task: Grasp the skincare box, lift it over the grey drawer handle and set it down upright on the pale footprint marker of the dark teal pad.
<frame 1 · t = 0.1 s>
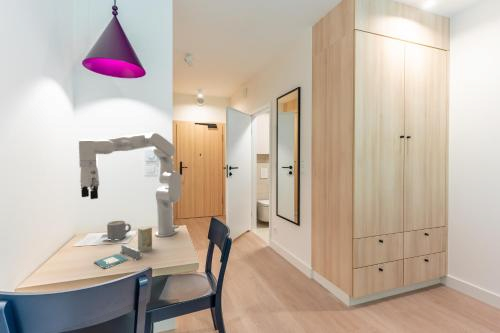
hand: (89, 197, 123), 31 cm above the table, fingers open, 9 cm apart
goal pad: (111, 261, 120), on the table
coffee mug: (119, 238, 155), on the table
skincare box: (145, 249, 136), on the table
grey drawer handle: (130, 255, 128), on the table
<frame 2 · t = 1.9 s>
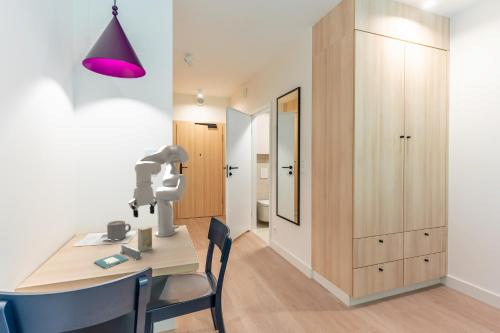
hand: (144, 215, 134), 19 cm above the table, fingers open, 9 cm apart
nothing on the table moved.
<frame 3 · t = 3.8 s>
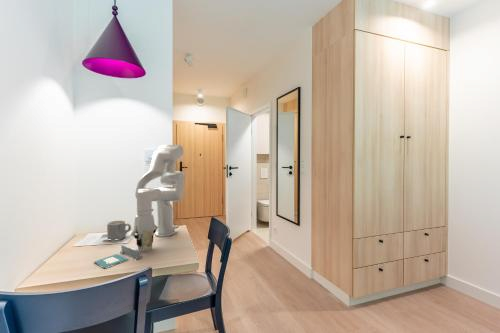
hand: (145, 243, 135), 3 cm above the table, fingers closed on skincare box, 6 cm apart
skincare box: (145, 249, 136), on the table, touching gripper
everything else where it was.
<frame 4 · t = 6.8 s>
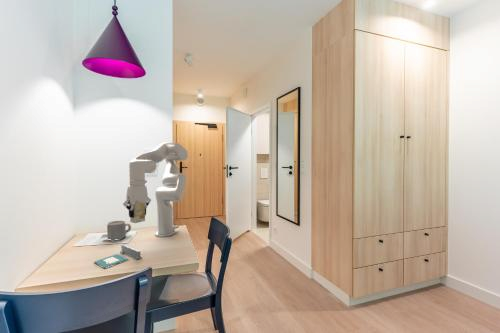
hand: (137, 215, 131), 20 cm above the table, fingers closed on skincare box, 6 cm apart
skincare box: (138, 222, 131), point 17 cm above the table, touching gripper
everything else where it was.
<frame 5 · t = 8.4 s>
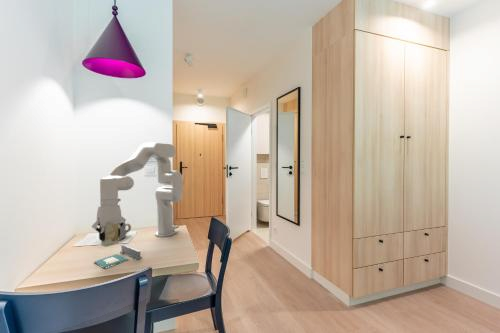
hand: (109, 238, 119), 12 cm above the table, fingers closed on skincare box, 6 cm apart
skincare box: (110, 244, 119), point 9 cm above the table, touching gripper
everything else where it was.
when the fingers open (5 cm above the table, at t = 9.9 s): skincare box moves 1 cm, resting on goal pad.
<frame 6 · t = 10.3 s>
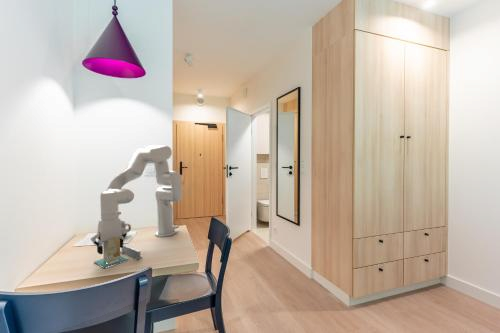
hand: (110, 250, 120), 6 cm above the table, fingers open, 9 cm apart
skincare box: (112, 260, 121), point 1 cm above the table, touching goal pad
everything else where it was.
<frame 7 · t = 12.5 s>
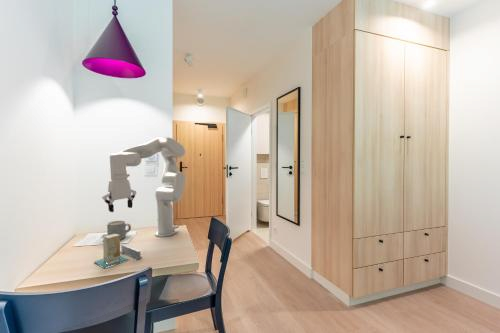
hand: (121, 209, 127), 24 cm above the table, fingers open, 9 cm apart
nothing on the table moved.
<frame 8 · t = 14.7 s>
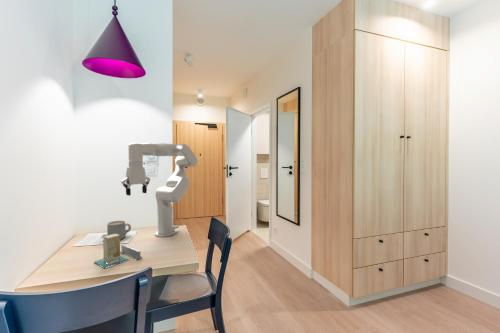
hand: (136, 194, 140), 30 cm above the table, fingers open, 9 cm apart
nothing on the table moved.
at the end: skincare box 0.5 cm off-centre on the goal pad, point 0.5 cm above the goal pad's base; skincare box tilted 0°; the gripper is holding nothing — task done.
